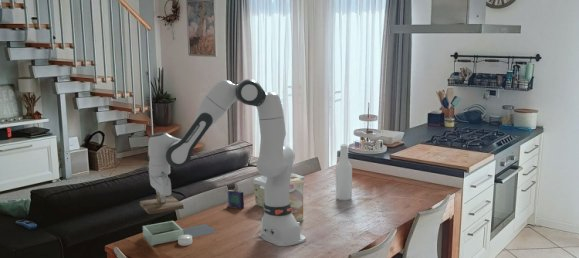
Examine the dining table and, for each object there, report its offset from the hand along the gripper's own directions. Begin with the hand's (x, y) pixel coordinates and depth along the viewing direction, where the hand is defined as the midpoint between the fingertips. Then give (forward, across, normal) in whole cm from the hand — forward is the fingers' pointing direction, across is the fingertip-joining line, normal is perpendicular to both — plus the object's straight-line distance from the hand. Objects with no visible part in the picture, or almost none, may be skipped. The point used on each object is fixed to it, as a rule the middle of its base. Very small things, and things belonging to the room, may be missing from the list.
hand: (161, 200), depth 228 cm
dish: (+17, 0, 0) cm, 17 cm away
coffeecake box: (+17, -7, -59) cm, 62 cm away
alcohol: (+17, +7, -103) cm, 105 cm away
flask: (+18, +24, -46) cm, 55 cm away
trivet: (+17, -1, -16) cm, 24 cm away
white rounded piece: (+17, -12, -6) cm, 22 cm away
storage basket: (+18, +17, -68) cm, 73 cm away
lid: (+3, 0, 0) cm, 3 cm away
